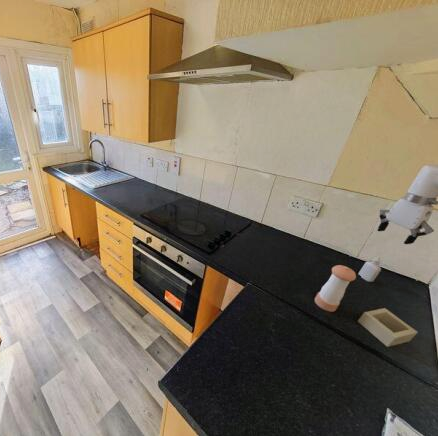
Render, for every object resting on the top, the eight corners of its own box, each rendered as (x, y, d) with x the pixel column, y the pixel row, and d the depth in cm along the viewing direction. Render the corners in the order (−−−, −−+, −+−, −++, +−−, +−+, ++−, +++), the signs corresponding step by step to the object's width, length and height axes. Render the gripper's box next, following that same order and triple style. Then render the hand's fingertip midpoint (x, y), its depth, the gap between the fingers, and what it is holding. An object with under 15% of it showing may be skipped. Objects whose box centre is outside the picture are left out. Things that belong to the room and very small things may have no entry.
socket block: (377, 316, 86) (384, 308, 84) (409, 341, 78) (418, 332, 75) (357, 321, 84) (364, 312, 82) (387, 347, 76) (395, 337, 73)
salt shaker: (334, 315, 86) (359, 277, 77) (312, 304, 91) (333, 267, 81) (337, 303, 91) (360, 267, 82) (316, 294, 95) (336, 258, 86)
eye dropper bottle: (368, 275, 107) (381, 255, 101) (373, 283, 102) (388, 262, 97) (357, 272, 108) (369, 252, 103) (362, 280, 104) (375, 260, 98)
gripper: (457, 208, 78) (426, 248, 86) (399, 190, 93) (378, 225, 101) (441, 209, 77) (411, 250, 85) (385, 190, 91) (364, 227, 100)
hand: (393, 236), depth 93 cm, fingers open, 9 cm apart
